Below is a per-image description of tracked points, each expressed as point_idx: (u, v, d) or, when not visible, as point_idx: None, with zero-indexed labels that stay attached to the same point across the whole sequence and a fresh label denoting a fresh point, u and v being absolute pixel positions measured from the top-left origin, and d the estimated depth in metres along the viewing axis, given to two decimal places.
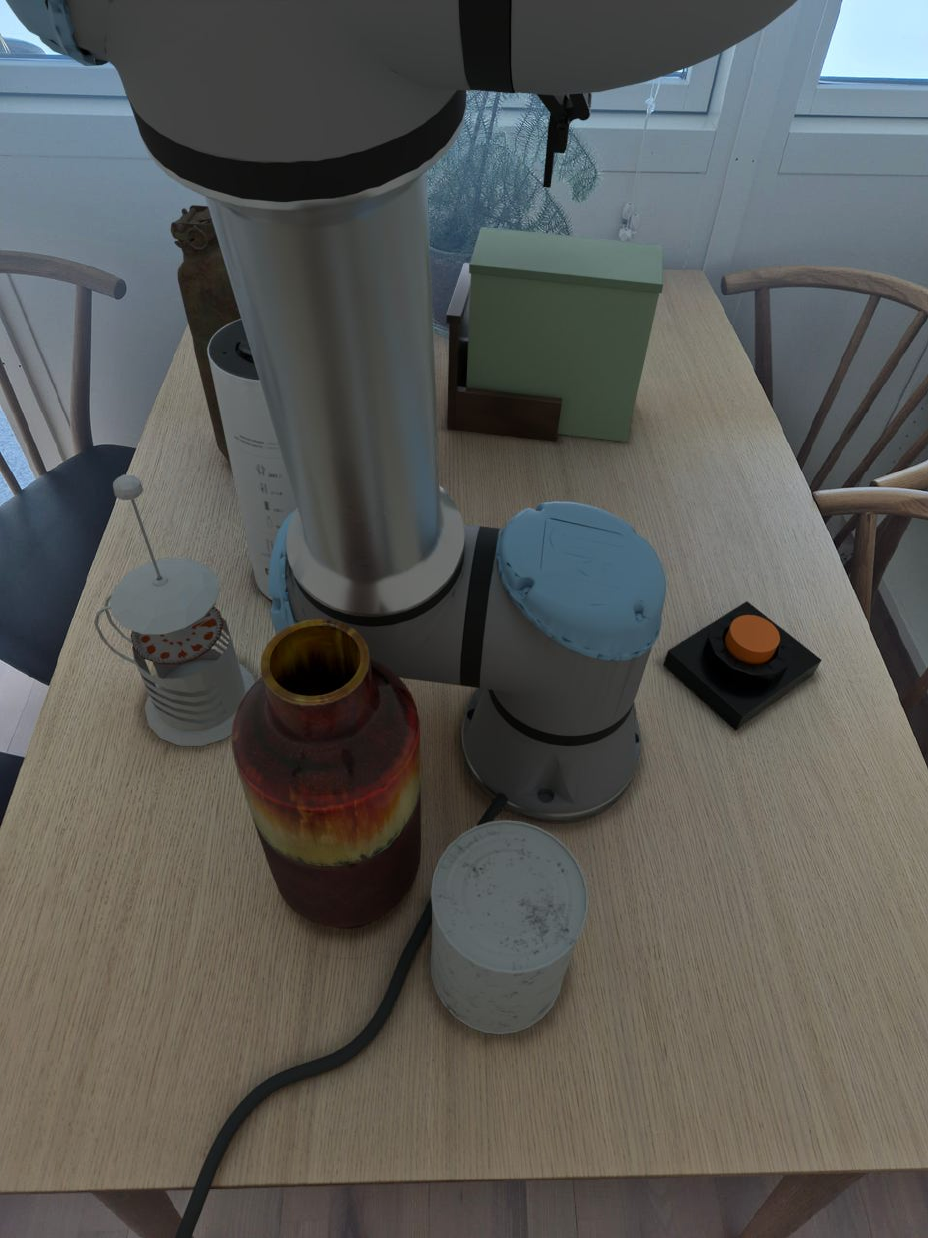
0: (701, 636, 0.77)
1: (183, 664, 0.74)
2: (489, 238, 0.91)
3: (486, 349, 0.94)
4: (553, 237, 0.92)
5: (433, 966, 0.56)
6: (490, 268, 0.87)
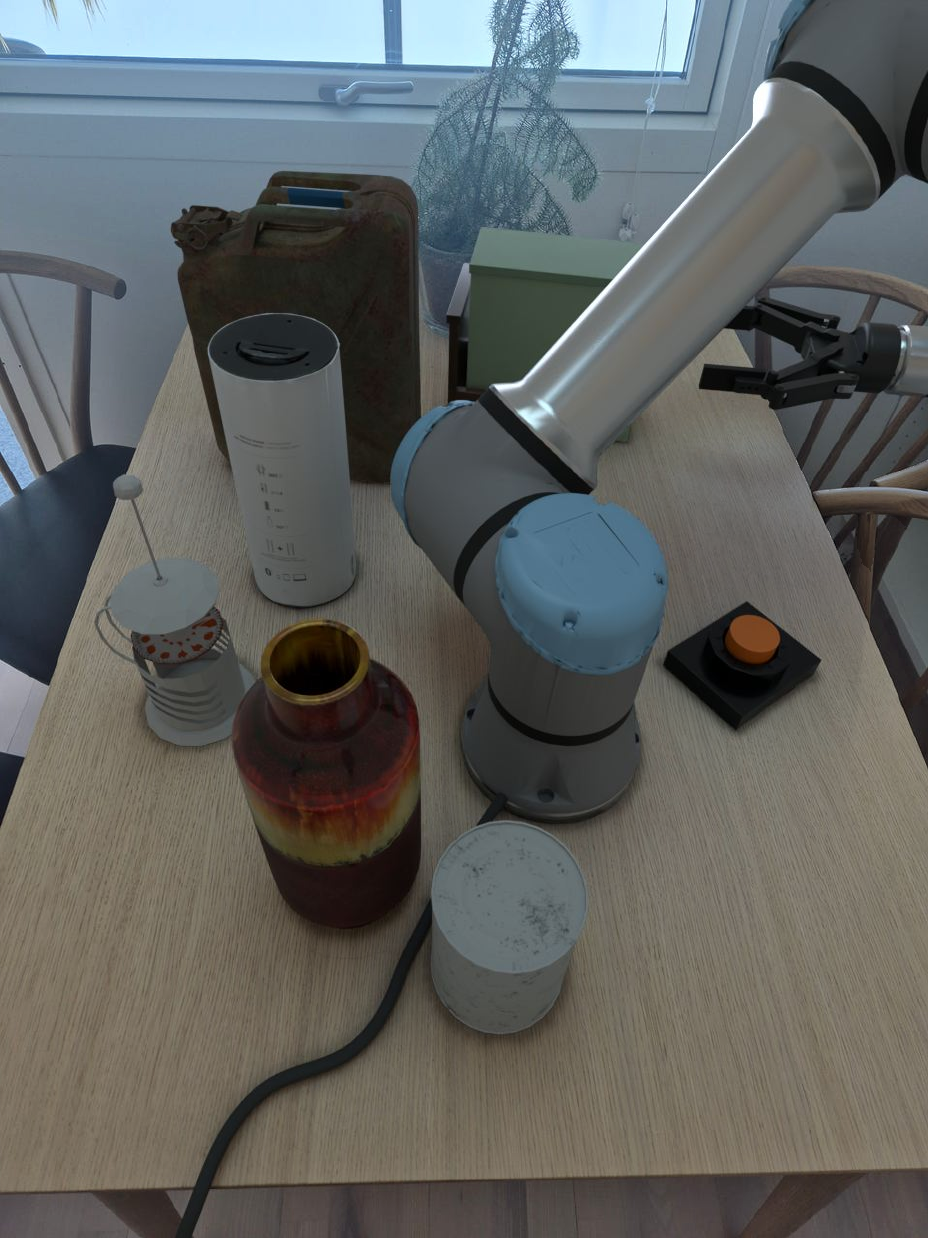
0: (701, 636, 0.77)
1: (183, 664, 0.74)
2: (489, 238, 0.91)
3: (486, 349, 0.94)
4: (553, 237, 0.92)
5: (433, 966, 0.56)
6: (490, 268, 0.87)
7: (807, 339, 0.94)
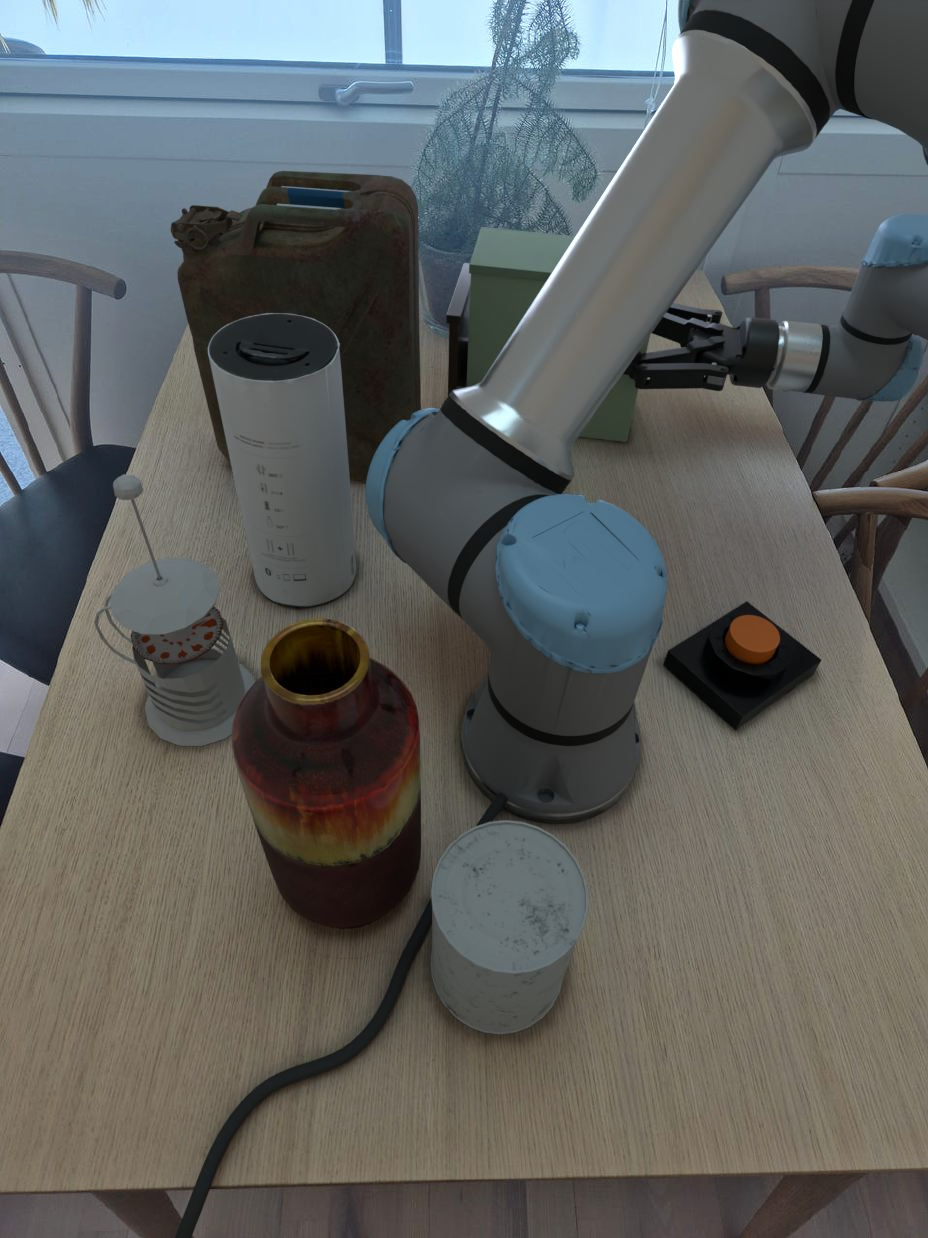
0: (701, 636, 0.77)
1: (183, 664, 0.74)
2: (489, 238, 0.91)
3: (486, 349, 0.94)
4: (553, 237, 0.92)
5: (433, 966, 0.56)
6: (490, 268, 0.87)
7: (692, 333, 0.95)
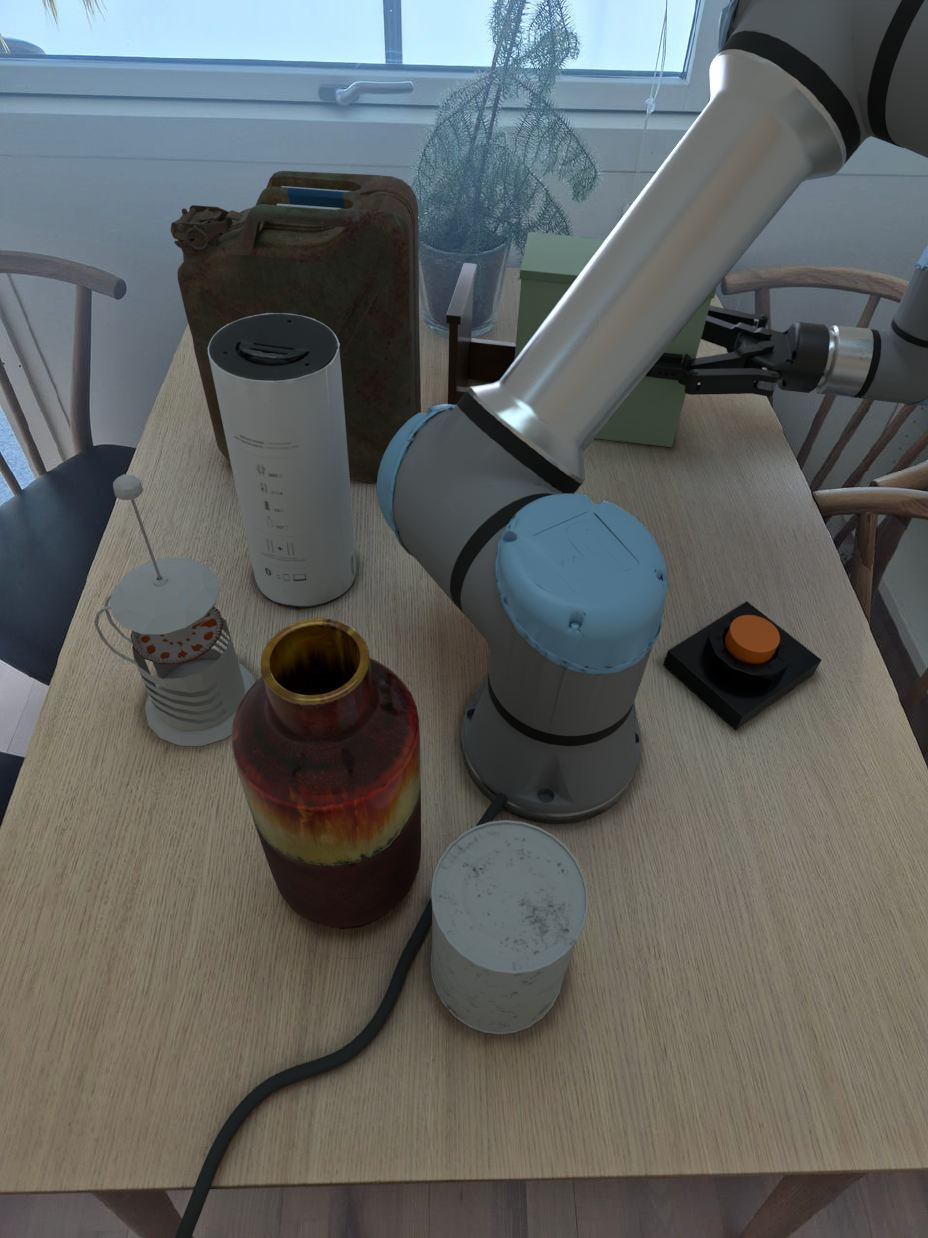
0: (701, 636, 0.77)
1: (183, 664, 0.74)
2: (538, 243, 0.91)
3: None
4: (602, 242, 0.91)
5: (433, 966, 0.56)
6: (541, 274, 0.87)
7: (740, 337, 0.95)
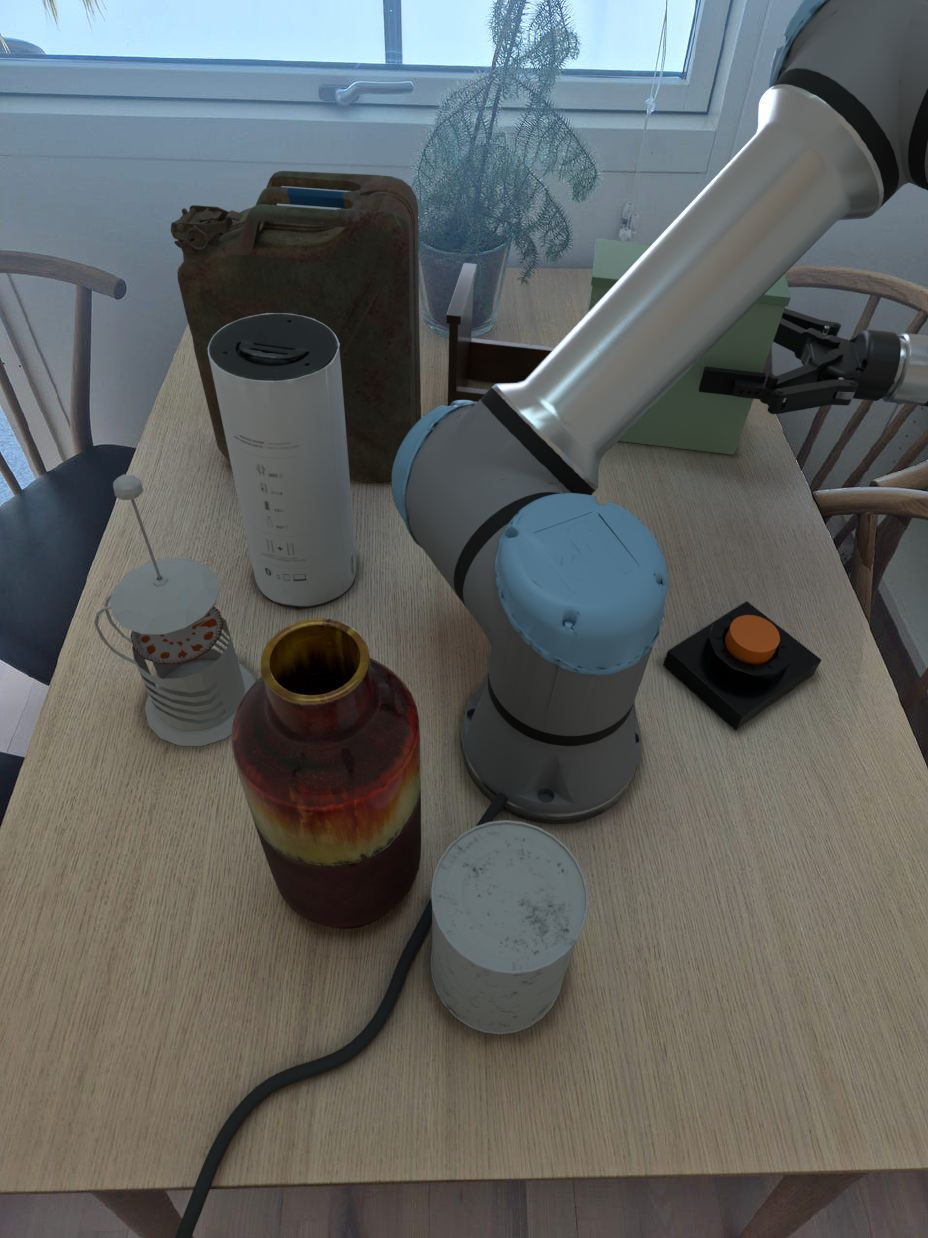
0: (701, 636, 0.77)
1: (183, 664, 0.74)
2: (606, 250, 0.90)
3: None
4: None
5: (433, 966, 0.56)
6: (613, 281, 0.86)
7: (807, 345, 0.94)
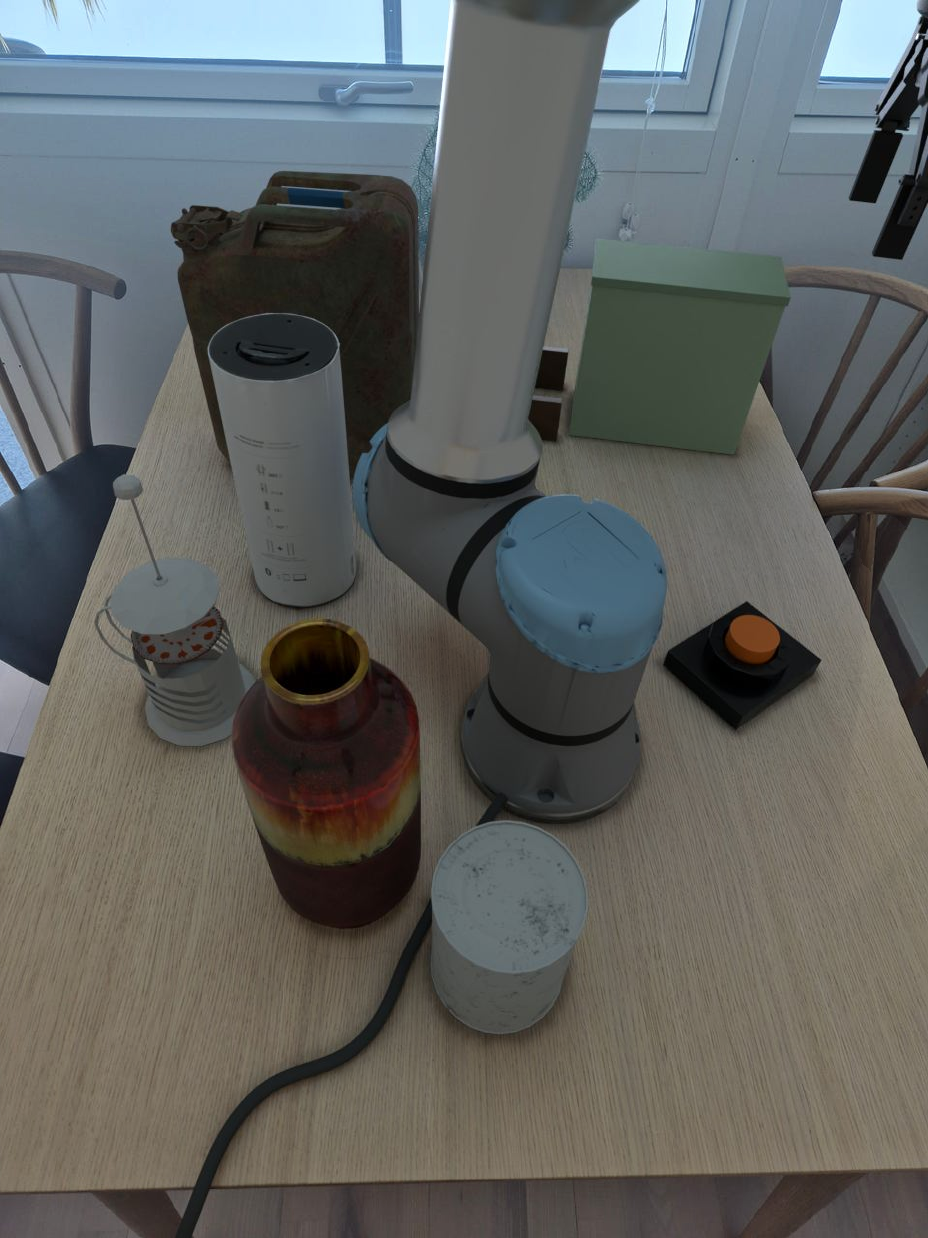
0: (701, 636, 0.77)
1: (183, 664, 0.74)
2: (607, 250, 0.90)
3: (599, 361, 0.93)
4: (670, 249, 0.91)
5: (433, 966, 0.56)
6: (613, 281, 0.86)
7: (916, 84, 0.75)
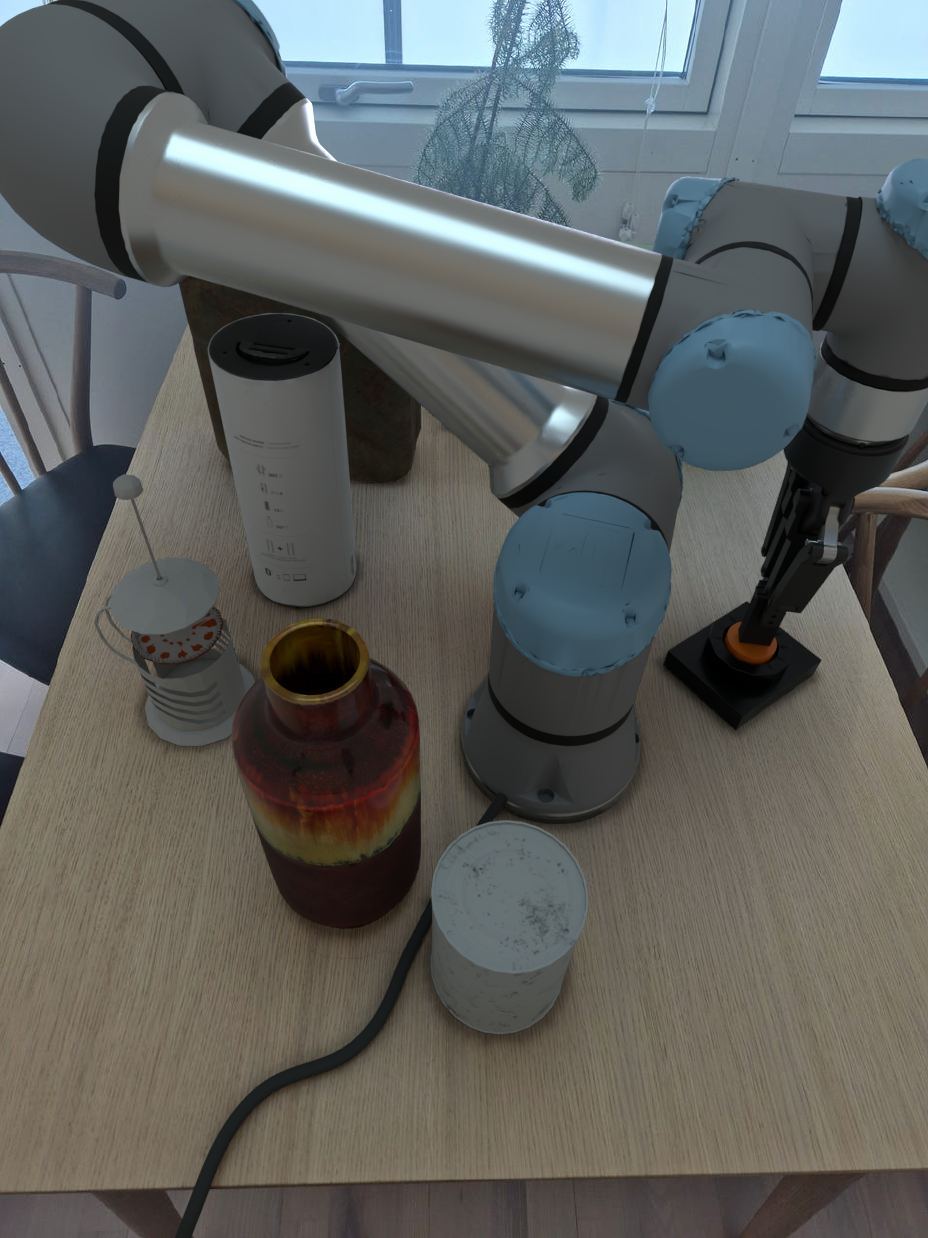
0: (701, 636, 0.77)
1: (183, 664, 0.74)
2: None
3: None
4: None
5: (433, 966, 0.56)
6: None
7: None
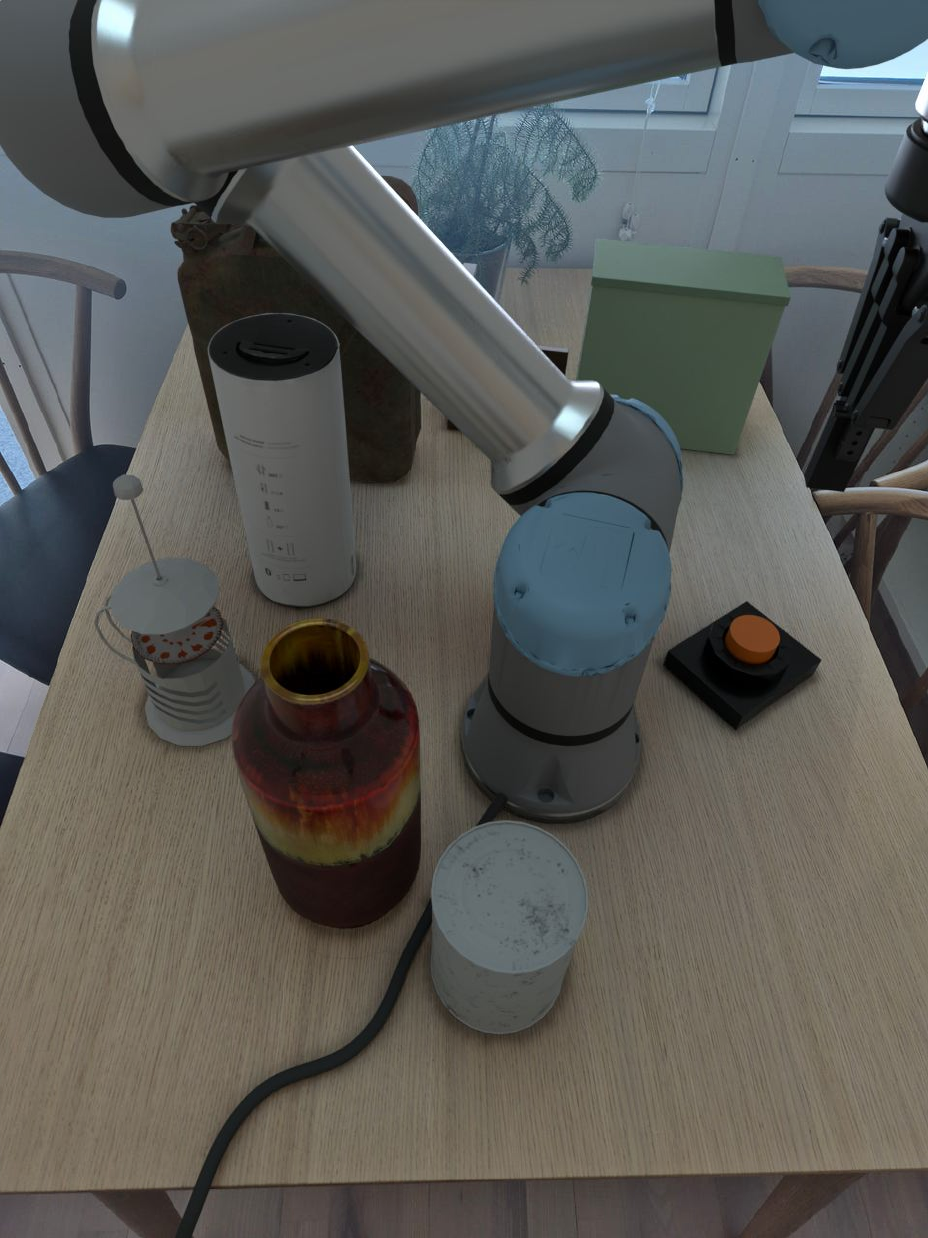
0: (701, 636, 0.77)
1: (183, 664, 0.74)
2: (607, 250, 0.90)
3: (599, 361, 0.93)
4: (670, 249, 0.91)
5: (433, 966, 0.56)
6: (613, 281, 0.86)
7: None
